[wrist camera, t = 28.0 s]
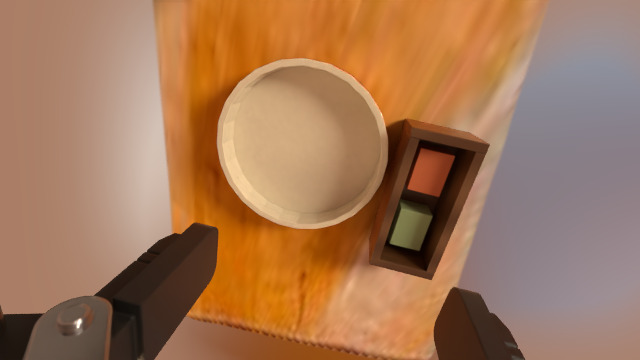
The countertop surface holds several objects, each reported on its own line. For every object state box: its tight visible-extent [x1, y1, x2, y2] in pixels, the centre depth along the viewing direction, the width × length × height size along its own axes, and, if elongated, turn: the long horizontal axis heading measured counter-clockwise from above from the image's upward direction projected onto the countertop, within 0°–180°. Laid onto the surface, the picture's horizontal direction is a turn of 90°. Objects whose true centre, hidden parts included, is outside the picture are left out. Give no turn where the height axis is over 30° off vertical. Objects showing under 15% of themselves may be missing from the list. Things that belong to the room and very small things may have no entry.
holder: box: [369, 119, 490, 280], centre depth 28 cm, size 14×6×5 cm, turn 168°
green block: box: [388, 199, 433, 251], centre depth 29 cm, size 4×3×2 cm
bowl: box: [217, 58, 388, 229], centre depth 29 cm, size 16×16×3 cm
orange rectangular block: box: [405, 143, 455, 197], centre depth 27 cm, size 4×3×2 cm
